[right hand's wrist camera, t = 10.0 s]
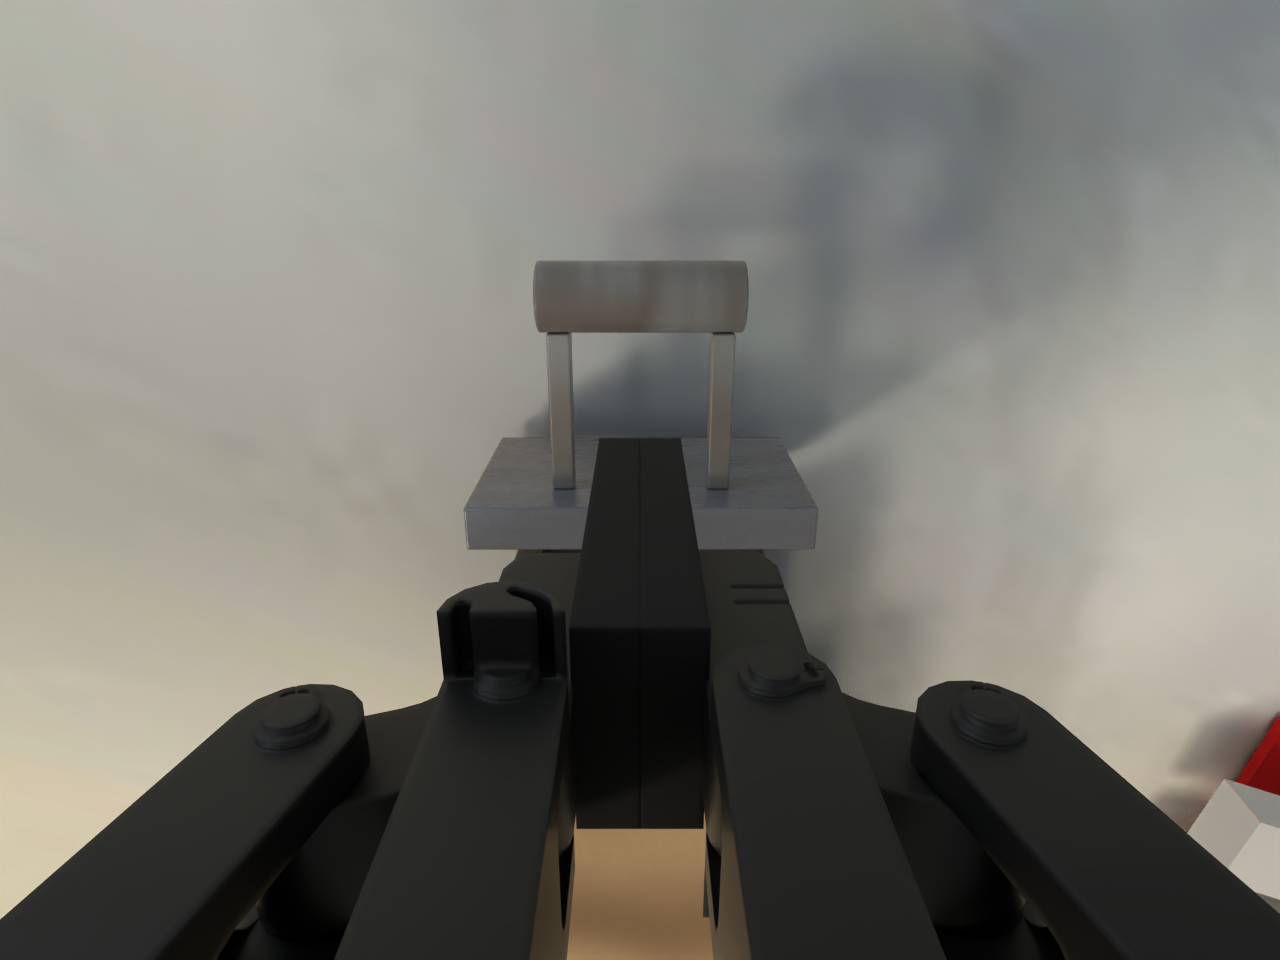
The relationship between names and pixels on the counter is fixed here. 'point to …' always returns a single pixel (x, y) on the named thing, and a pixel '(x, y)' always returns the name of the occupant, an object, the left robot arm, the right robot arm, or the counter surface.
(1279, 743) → the toy
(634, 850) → the wooden block
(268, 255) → the counter surface
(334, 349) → the counter surface
